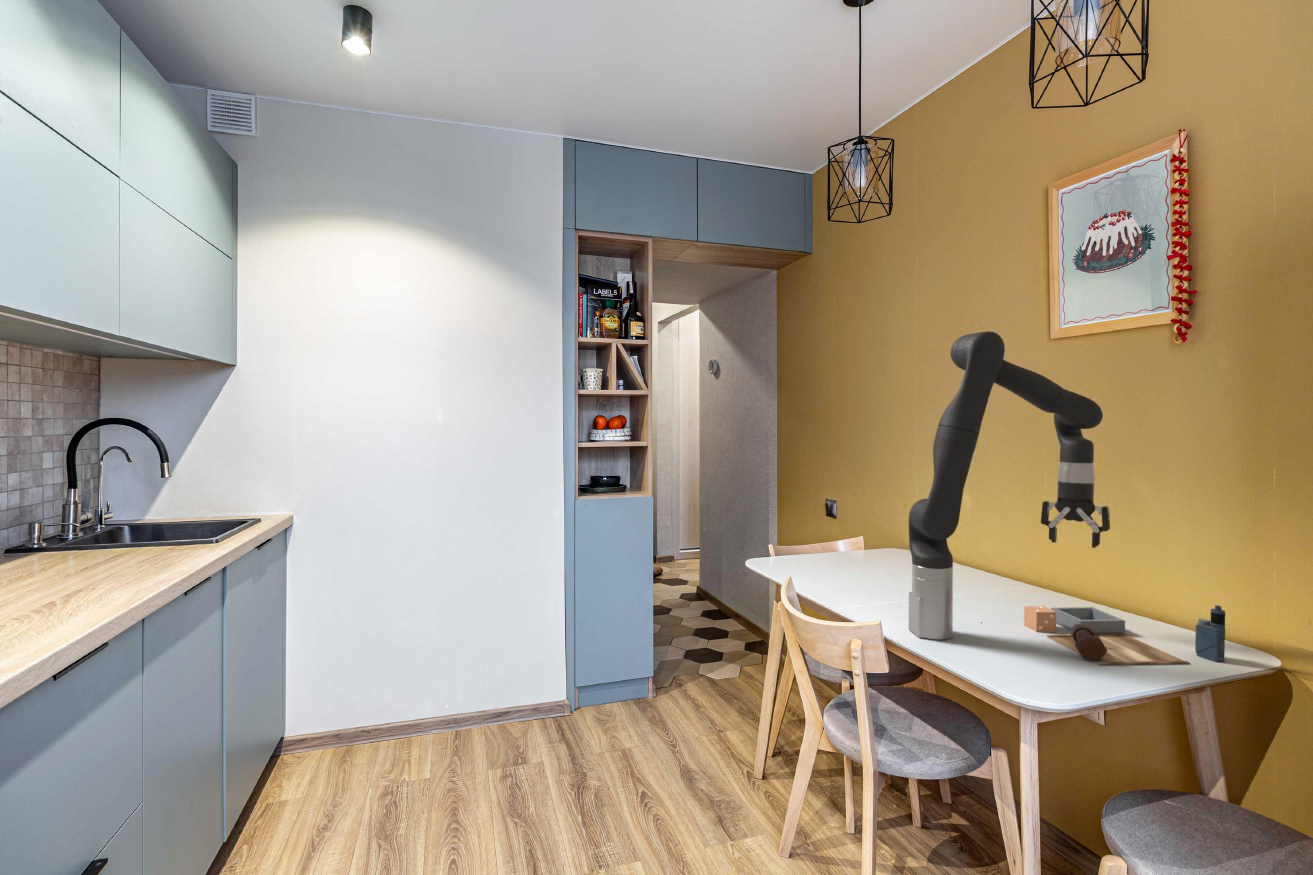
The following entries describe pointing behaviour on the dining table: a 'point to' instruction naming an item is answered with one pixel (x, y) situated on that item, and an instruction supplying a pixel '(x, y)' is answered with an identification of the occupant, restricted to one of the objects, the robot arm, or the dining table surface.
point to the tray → (1089, 620)
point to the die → (1040, 618)
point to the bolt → (1088, 643)
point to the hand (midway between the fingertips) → (1073, 544)
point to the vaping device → (1211, 636)
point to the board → (1124, 651)
